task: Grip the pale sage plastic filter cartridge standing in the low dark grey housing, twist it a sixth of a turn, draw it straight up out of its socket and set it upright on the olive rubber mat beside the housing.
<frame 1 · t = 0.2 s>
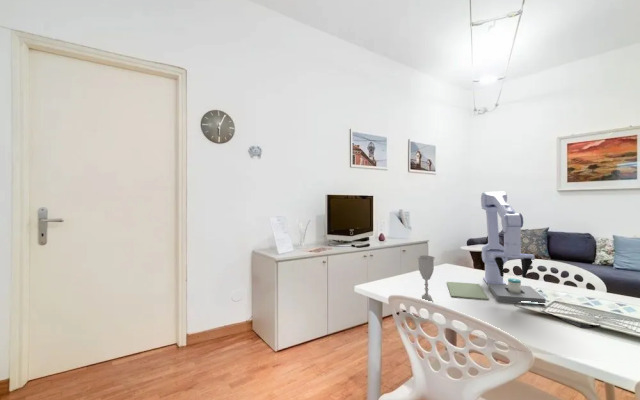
hand: (512, 276, 117), 10 cm above the table, tool pointing down, fingers open, 7 cm apart
mat: (465, 290, 129), on the table
cartridge: (514, 288, 121), in the housing
chalice: (426, 301, 119), on the table
phone: (568, 318, 100), on the table
housing: (514, 296, 121), on the table
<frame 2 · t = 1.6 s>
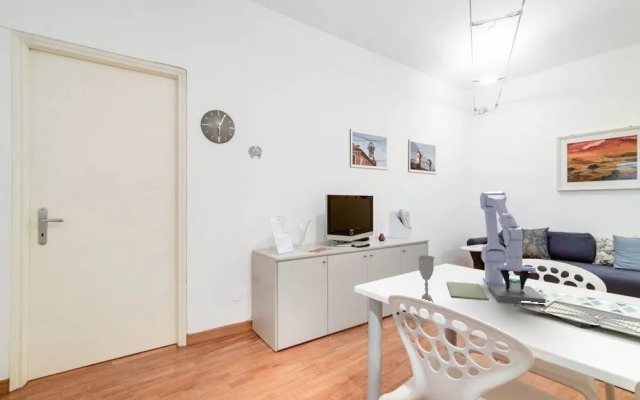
hand: (514, 288, 121), 3 cm above the table, tool pointing down, fingers closed on cartridge, 4 cm apart
cartridge: (514, 288, 121), in the housing, touching gripper
everything else where it was.
when the fingers open (6 cm above the table, at t = 7.1 s): cartridge drops 1 cm, resting on mat.
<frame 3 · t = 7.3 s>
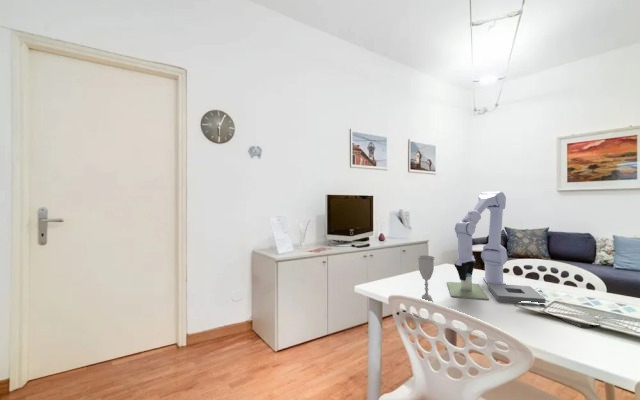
hand: (465, 278, 129), 6 cm above the table, tool pointing down, fingers open, 6 cm apart
cartridge: (466, 281, 129), on the mat, point 4 cm above the table
everything else where it was.
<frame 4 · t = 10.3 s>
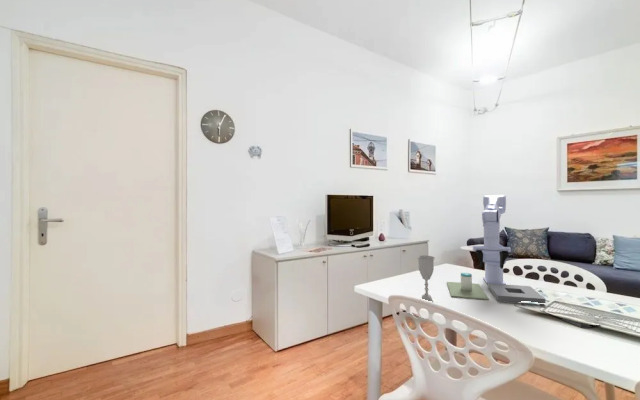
hand: (491, 267, 128), 10 cm above the table, tool pointing down, fingers open, 7 cm apart
nothing on the table moved.
at the end: cartridge inside the target area on the mat (0.3 cm from its centre), point 4.1 cm above the mat's base; cartridge tilted 0°; the gripper is holding nothing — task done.
